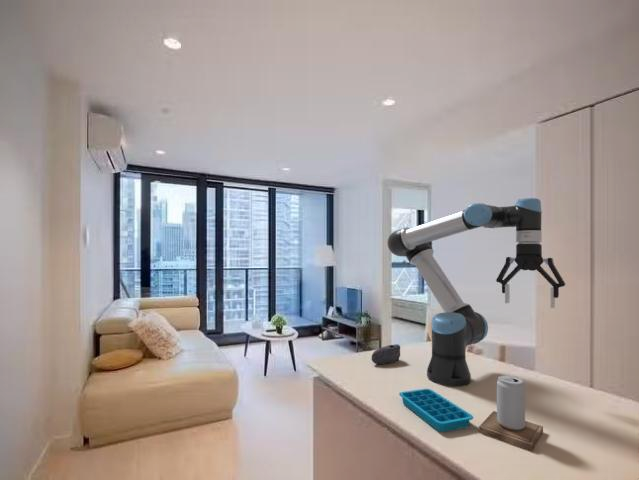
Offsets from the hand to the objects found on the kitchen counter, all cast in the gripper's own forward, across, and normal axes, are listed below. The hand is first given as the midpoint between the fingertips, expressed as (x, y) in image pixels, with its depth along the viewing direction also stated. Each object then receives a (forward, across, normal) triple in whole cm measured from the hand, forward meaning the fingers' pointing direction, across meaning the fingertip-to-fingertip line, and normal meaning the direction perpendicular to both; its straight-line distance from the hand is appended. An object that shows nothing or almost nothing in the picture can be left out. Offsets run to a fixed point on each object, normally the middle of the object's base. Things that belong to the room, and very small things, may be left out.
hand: (529, 305), depth 117 cm
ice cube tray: (+29, -16, -39) cm, 52 cm away
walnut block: (+29, +3, -35) cm, 45 cm away
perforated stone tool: (+29, -50, -11) cm, 59 cm away
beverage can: (+27, +3, -35) cm, 44 cm away
